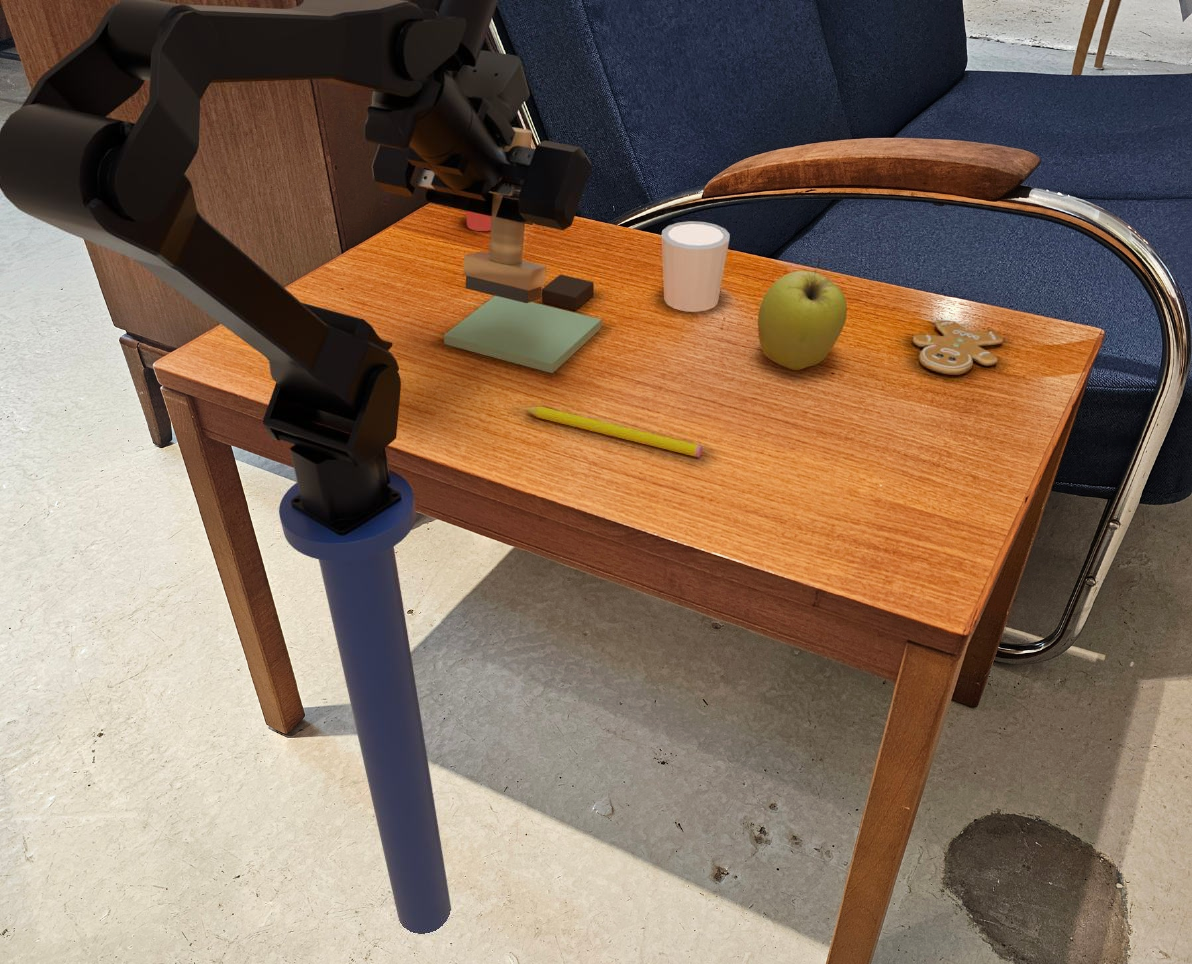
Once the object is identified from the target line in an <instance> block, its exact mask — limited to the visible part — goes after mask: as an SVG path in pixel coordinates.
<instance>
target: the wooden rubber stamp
mask: <svg viewBox="0 0 1192 964" xmlns="http://www.w3.org/2000/svg"><path fill="white" fill-rule="evenodd" d="M511 127H512V128H513V129H514V131H515V132H516V133H515V136H514V139H513V141H512V144H511V146H505V149H504V151H505V152H508V151H509V150H510V149H511V148H512V147H514V146H523V147H528V148H532V140H533V139H532V138H533V137H532V136H533V132H532V130H530V129H526V128H521V127H513V126H511ZM508 164H510V163H508ZM502 198H503V196H502V195H497V194H493V200H492V216H491V230H490V232H489V249H488V250H489V251H488V252H487V251H484V250H480V251H477V252H471V253H468V254H464V256H463V271H462V274H463V276H464V277H465V287H464V288H465V289H466V290H471V291H475V292H478V293H483V294H486V295H491V296H499V297H503V298H507V299H511V300H515V301H519V302H523V303H529V302H535V301H539V300H542V289H543V287H545V286H546V277H547V265H544V264H539V263H535V262H531V261H526V260H523V253H524V240H525V228H526V227H525V226H526V224H524V223H519V222H514V221H510V220H505V219H501V218H497V217H496V214H497V212H498V209H499V206H500V203H501V200H502Z"/></svg>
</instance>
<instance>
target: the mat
mask: <svg viewBox="0 0 1192 964" xmlns="http://www.w3.org/2000/svg"><path fill="white" fill-rule="evenodd" d="M602 321H603V320H602V319H601V318H597V317H594V316H590V315H587V314H581V313H578V312H575V311H571V310H570V311H569V310H565V309H562V308H559V307H558V308H557V307H553V306H551V305H550V306H549V305H545V304H541V303H537V302H534V301H532V302H529V303H523V302H519V301H515V300H511V299H507V298H503V297H499V296H495V295H493V297H492V298H490V299H489V300H487V301H486V302H485V303H484V304H482V305H481V306H480V307H479V308H476V310H474V311H473V312H471V314H469V315H468V316H466V317H465V318H464V319H463V320H462V321H460V322H459V323H457V324H456V325H455V326H454V327H452V328H451V329H450V330H449V331H447V332H446V333H444V334H443V341H444V345H446V346H450V347H453V348H458V349H461V350H465V351H469V352H473V353H475V354H480V355H483V356H486V357H491V358H495V359H498V360H501V361H505V362H509V363H512V364H517V365H519V366H520V365H521V366H524V367H528V368H531V369H534V370H538V371H542V372H547V373H549V374H554V373H555V372H556V371H557V370H558V369H559V368H560V367H561V366H563V364H565V363H566V362H567V361H568V360H569V359H570V358H571V357H573V355H574V354H576V353H577V352H578V351H579V350H580V349H582V347H583V346H584V345H586V343H587V342H589V340H591V339H592V338H593V337H594V336H595V335H596V334H598V332H599V331H600V330H602V323H603V322H602Z"/></svg>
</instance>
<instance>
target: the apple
mask: <svg viewBox="0 0 1192 964" xmlns="http://www.w3.org/2000/svg"><path fill="white" fill-rule="evenodd" d="M820 262H821V260H818V261H817V264H816V267H815V270H814V271H809V270H797V271H792V272H789V273H787V274H784V275H782V276H781V277H780V278H778V279H777V280H776V281H774V283H773V284H771V285H770V287H769V288H768V289H767V290H766V292H765V294H764V296H763V298H762V300H761V303H760V306H759V308H758V309H759V310H758V315H757V331H758V341H759V344H760V347H761V350H762V351H763V353H764V355H765V356H766V358H767V359H769V360H770V361H772V362H774V363H776V364H777V365H780V366H782V367H783V368H784V367H785V368H786V369H789V370H793V371H800V370H802V369H805V368H809V367H813V366H816V365H818V364H820V363H821V362H822V361H824V359H825V358H826V357H827V356H828V355H829V354H830V352H831V351H832V349H833V348H834V346H835V344H836V342H837V340H838V339H839V337H840V335H841V333H842V332H843V329H844V326H845V324H846V322H847V313H848V304H847V299H846V297H845V294H844V293H843V291H842V290H841V288H840V287H839V286H838V285H837V284H836V283H834V281H832V280H831V279H830V278H828V277H826V276H824V275H822V274H820V273H818V272H817V271H818V267H819V265H820Z"/></svg>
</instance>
